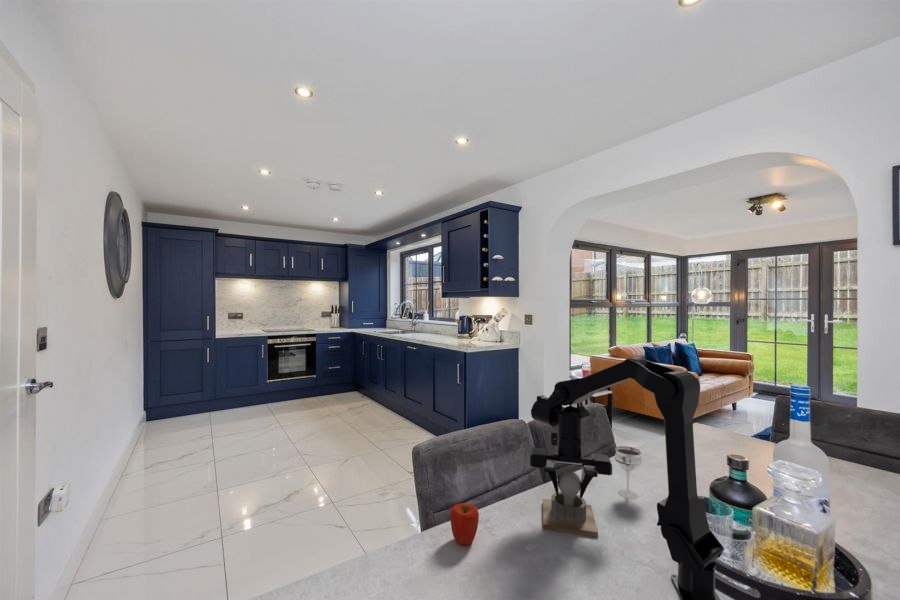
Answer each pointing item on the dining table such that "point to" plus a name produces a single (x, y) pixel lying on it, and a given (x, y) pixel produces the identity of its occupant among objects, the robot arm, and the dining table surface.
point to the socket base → (569, 516)
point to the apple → (464, 522)
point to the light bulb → (569, 486)
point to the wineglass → (628, 465)
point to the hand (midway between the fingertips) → (569, 495)
